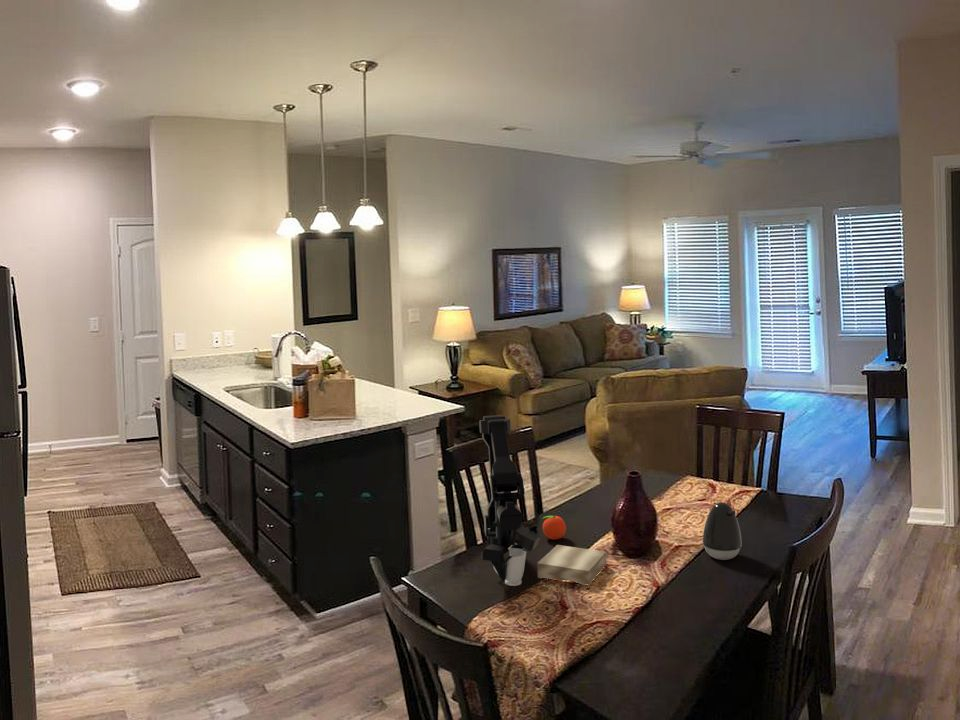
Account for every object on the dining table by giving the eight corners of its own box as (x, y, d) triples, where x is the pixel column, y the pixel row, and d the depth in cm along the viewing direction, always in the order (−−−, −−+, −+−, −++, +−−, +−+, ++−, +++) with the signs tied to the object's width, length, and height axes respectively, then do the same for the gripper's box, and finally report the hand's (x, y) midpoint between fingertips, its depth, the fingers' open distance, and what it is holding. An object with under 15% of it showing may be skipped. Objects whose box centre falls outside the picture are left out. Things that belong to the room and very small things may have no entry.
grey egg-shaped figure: (717, 566, 210) (718, 510, 208) (695, 552, 220) (695, 499, 218) (750, 560, 213) (750, 505, 211) (726, 547, 223) (726, 495, 221)
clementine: (536, 541, 233) (535, 517, 232) (543, 533, 240) (542, 510, 239) (562, 544, 230) (561, 520, 229) (569, 536, 236) (568, 513, 236)
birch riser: (537, 577, 207) (537, 563, 206) (557, 558, 219) (557, 544, 219) (588, 586, 201) (588, 571, 200) (606, 566, 213) (606, 551, 212)
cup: (515, 590, 199) (515, 559, 199) (485, 581, 206) (484, 550, 205) (532, 581, 205) (531, 551, 204) (502, 573, 211) (501, 543, 210)
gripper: (520, 532, 191) (522, 594, 193) (549, 510, 208) (551, 567, 209) (479, 527, 196) (481, 587, 198) (511, 505, 213) (512, 561, 215)
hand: (508, 575), depth 205 cm, fingers closed on cup, 6 cm apart
